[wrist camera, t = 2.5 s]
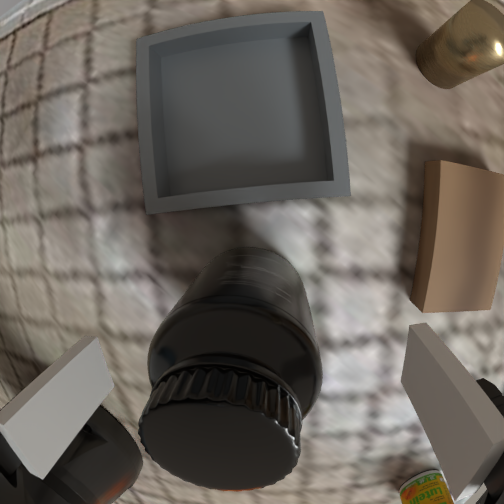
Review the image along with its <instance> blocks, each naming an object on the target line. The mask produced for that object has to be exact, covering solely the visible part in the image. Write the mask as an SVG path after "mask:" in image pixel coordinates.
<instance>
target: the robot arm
mask: <svg viewBox="0 0 504 504" xmlns="http://www.w3.org/2000/svg"><path fill="white" fill-rule="evenodd" d="M401 383H402V385H403V387H404V389H405V390H406V392H407V394H408V397H409V399H410V401H411V403H412V405H413V407H414V409H415V411H416V413H417V415H418V417H419V419H420V421H421V423H422V426H423V428H424V430H425V432H426V434H427V436H428V439H429V441H430V443H431V445H432V447H433V450H434V452H435V454H436V457H437V459H438V461H439V463H440V466H441V468H442V471H443V473H444V475H445V478H446V480H447V483H448V485H449V488H450V490H451V493H452V495H453V498H454V501H458V500H460V499H463V498H465V497H467V496H470V495H472V494H474V493H476V492H477V491H478V489H479V488H480V487H481V485H482V484H483V483H484V484H485V486H486V488H487V490H486V491H485V493H484V494H483V495H482V496H481V497H480V499H479V500H478V501H477V502H476V504H504V396H502V393H501V392H500V391H499V390H498V388H497V387H496V386H495V385H494V384H492V383H491V382H489V381H487V380H486V379H484V378H482V379H479V380H476V381H475V379H474V378H473V377H472V376H471V375H470V373H469V372H468V371H467V370H466V368H465V367H464V366H463V365H462V364H461V362H460V361H459V360H458V359H457V358H456V356H455V355H454V354H453V353H452V352H451V351H450V349H449V348H448V347H447V346H446V345H445V344H444V342H443V341H442V340H441V339H440V338H439V337H438V336H437V334H436V333H435V332H434V331H433V330H432V329H431V328H430V327H429V325H428V324H427V323H421V324H415V325H409V333H408V340H407V347H406V354H405V360H404V366H403V371H402V377H401ZM113 387H114V383H113V381H112V378H111V375H110V373H109V370H108V367H107V364H106V361H105V359H104V356H103V353H102V350H101V347H100V343H99V340H98V337H94V336H84V337H83V338H82V339H81V340H79V341H78V342H77V343H76V344H75V345H73V346H72V347H71V348H70V349H69V350H68V351H66V352H65V353H64V354H63V355H62V356H61V357H60V358H58V359H57V360H56V361H55V362H54V363H53V364H51V365H50V366H49V367H48V368H47V369H46V370H45V371H44V372H42V373H41V374H40V375H39V376H38V377H37V378H36V379H35V380H33V381H32V382H31V383H30V384H29V385H28V386H27V387H26V388H24V389H23V390H22V391H20V392H19V393H18V394H17V395H16V397H14V398H13V399H12V400H11V401H10V402H8V403H7V404H6V405H5V406H4V407H3V408H2V409H1V410H0V504H112V503H113V502H114V501H115V500H116V499H117V498H118V497H120V496H121V495H122V494H123V493H124V492H125V491H126V490H127V489H129V488H130V487H132V486H133V484H134V483H135V482H136V480H137V478H138V476H139V473H140V471H141V469H142V466H143V460H142V455H141V453H140V450H139V448H138V447H137V445H136V443H135V442H134V440H133V439H132V437H131V436H130V435H129V434H128V432H127V431H126V430H125V429H124V428H123V427H122V426H121V425H120V424H119V423H118V422H117V421H116V420H115V419H114V418H113V417H112V416H111V415H110V414H109V413H108V412H106V411H105V410H104V409H103V408H102V407H100V406H99V405H100V404H101V403H102V401H103V400H104V399H105V397H106V396H107V395H108V394H109V392H110V391H111V390H112V388H113Z"/></svg>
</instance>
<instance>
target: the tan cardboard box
mask: <svg viewBox="0 0 504 504" xmlns="http://www.w3.org/2000/svg"><path fill="white" fill-rule="evenodd" d="M503 247H504V175H503V174H499V173H496V172H492V171H488V170H484V169H480V168H476V167H471V166H467V165H462V164H458V163H453V162H448V161H443V160H436V161H426V162H425V174H424V195H423V210H422V221H421V231H420V240H419V248H418V256H417V263H416V269H415V275H414V281H413V287H412V293H411V298H410V301H411V302H412V303H413V304H414V305H415V306H416V307H417V308H418V309H419V310H420V311H421V312H422V313H435V312H459V311H478V310H490V309H491V305H492V302H493V298H494V293H495V289H496V285H497V280H498V275H499V270H500V265H501V259H502V253H503Z"/></svg>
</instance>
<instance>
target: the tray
mask: <svg viewBox="0 0 504 504" xmlns="http://www.w3.org/2000/svg"><path fill="white" fill-rule="evenodd" d="M136 93H137V119H138V137H139V151H140V163H141V174H142V184H143V193H144V201H145V210H146V215H149V214H157V213H165V212H173V211H181V210H189V209H198V208H207V207H216V206H226V205H236V204H246V203H257V202H268V201H281V200H293V199H307V198H322V197H339V196H351V192H350V179H349V167H348V157H347V147H346V138H345V130H344V122H343V114H342V107H341V100H340V94H339V87H338V81H337V76H336V70H335V64H334V59H333V54H332V49H331V44H330V39H329V35H328V30H327V26H326V21H325V17H324V13H323V11H295V12H275V13H262V14H252V15H243V16H236V17H229V18H222V19H216V20H210V21H205V22H200V23H195V24H190V25H186V26H181V27H177V28H173V29H169V30H165V31H162V32H158V33H154V34H151V35H148V36H144V37H141V38H138V39H137V41H136Z"/></svg>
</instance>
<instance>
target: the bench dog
mask: <svg viewBox="0 0 504 504" xmlns="http://www.w3.org/2000/svg"><path fill="white" fill-rule="evenodd" d="M416 61H417V64H418V67H419V69H420V71H421V72H422V74H423V75H424V76H425V77H426V78H427V79H428V80H429V81H430V82H431V83H432V84H434V85H435V86H437V87H440V88H443V89H450V88H453V87H455V86H457V85H459V84H461V83H463V82H466V81H468V80H470V79H472V78H474V77H476V76H478V75H480V74H483V73H485V72H487V71H489V70H491V69H494V68H496V67H498V66H500V65H502V64H504V15H503V14H502V13H501V12H500V11H499V10H498V9H497V8H496V7H494V6H493V5H492V4H490V3H488V2H486V1H484V0H471V1H469V2H468V3H467V4H466V5H465V6H464V7H462V8H461V9H460V10H459V11H458V12H457V13H456V14H454V15H453V16H452V17H451V18H450V19H449V20H448V21H446V22H445V23H444V24H443V25H442V26H441V27H440V28H439V29H437V30H436V31H435V32H434V33H433V34H432V35H431V36H430V37H429V38H427V39H426V40H425V41H424V42H423V43H422V44H421V45H420V46H419V47H418V48H417V51H416Z"/></svg>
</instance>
